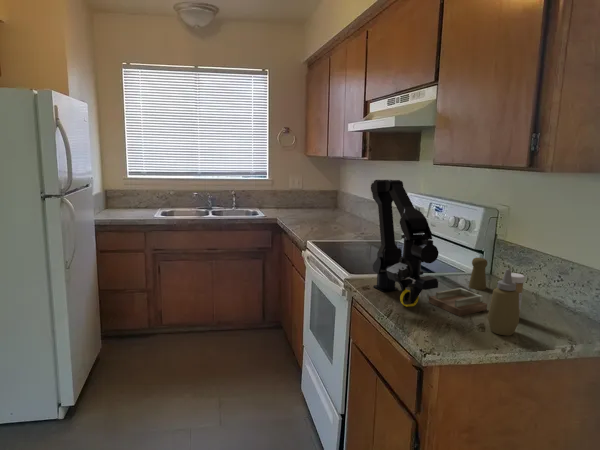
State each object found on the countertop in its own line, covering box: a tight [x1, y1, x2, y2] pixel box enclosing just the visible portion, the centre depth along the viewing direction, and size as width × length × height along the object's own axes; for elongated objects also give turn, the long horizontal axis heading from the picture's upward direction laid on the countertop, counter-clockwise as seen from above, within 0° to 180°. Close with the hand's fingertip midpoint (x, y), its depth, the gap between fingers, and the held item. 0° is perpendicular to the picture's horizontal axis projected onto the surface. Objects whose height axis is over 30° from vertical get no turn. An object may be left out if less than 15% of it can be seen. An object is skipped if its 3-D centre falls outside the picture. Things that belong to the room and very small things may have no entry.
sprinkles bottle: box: [511, 272, 525, 319], centre depth 135 cm, size 5×5×13 cm
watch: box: [399, 287, 420, 308], centre depth 144 cm, size 6×3×6 cm, turn 106°
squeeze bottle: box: [487, 268, 520, 337], centre depth 124 cm, size 8×8×18 cm
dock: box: [428, 287, 488, 317], centre depth 144 cm, size 13×12×4 cm
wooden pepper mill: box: [468, 257, 488, 291], centre depth 163 cm, size 6×6×11 cm
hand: (409, 302), depth 144 cm, fingers open, 3 cm apart
